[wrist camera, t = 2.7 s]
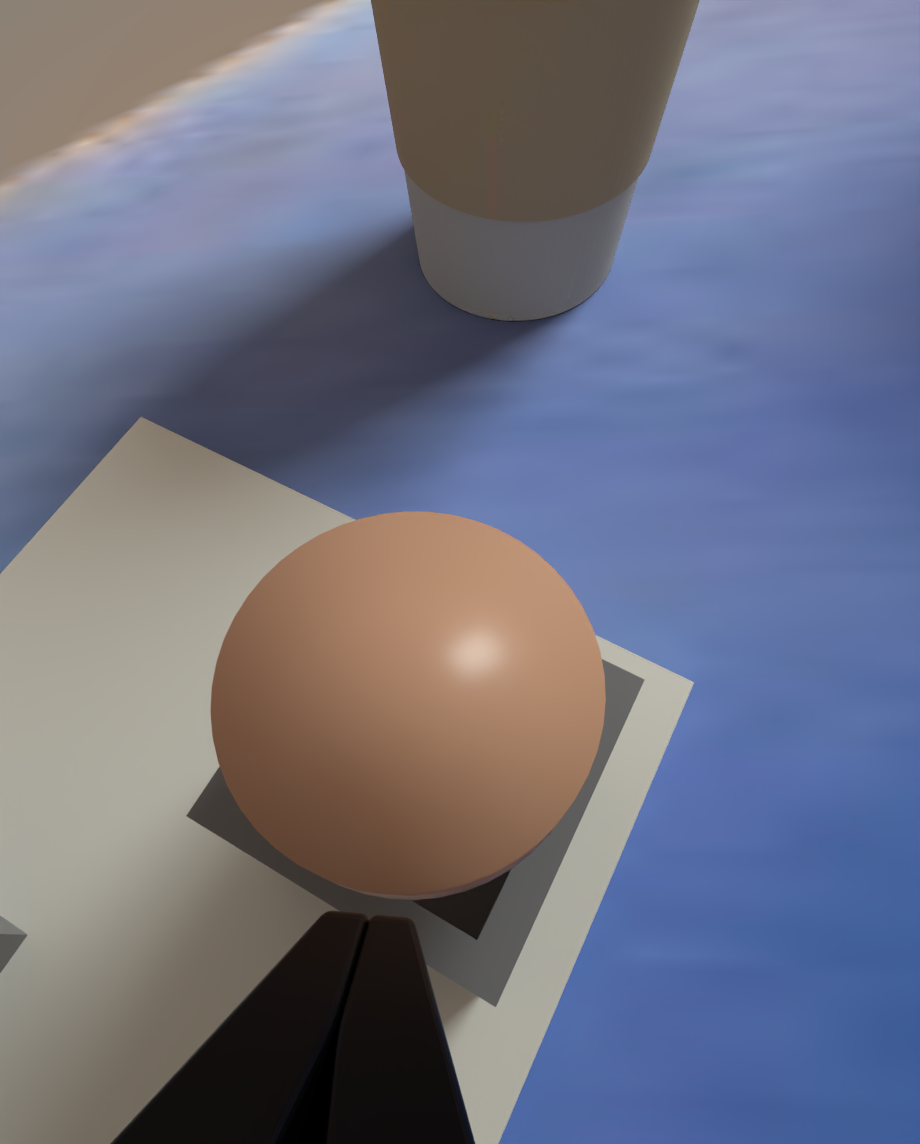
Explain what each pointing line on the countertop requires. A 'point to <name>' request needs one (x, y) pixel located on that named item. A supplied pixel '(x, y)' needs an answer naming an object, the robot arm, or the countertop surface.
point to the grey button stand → (224, 812)
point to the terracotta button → (408, 704)
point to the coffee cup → (525, 138)
